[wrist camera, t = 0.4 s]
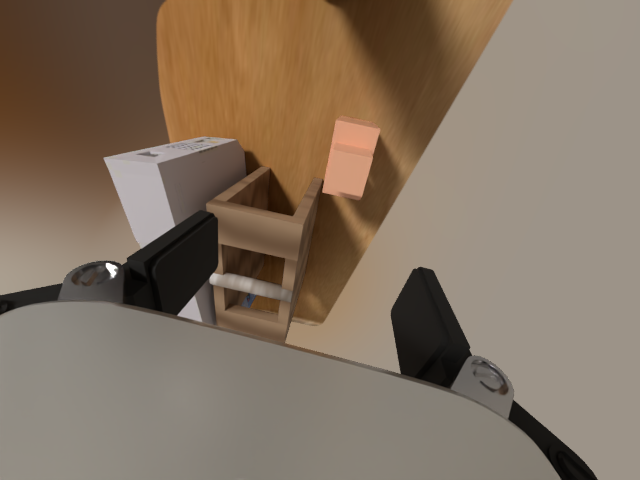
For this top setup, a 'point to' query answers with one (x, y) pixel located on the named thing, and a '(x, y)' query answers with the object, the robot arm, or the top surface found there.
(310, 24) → the top surface
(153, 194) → the game console
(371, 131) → the salmon stepped block
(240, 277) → the wooden rack
